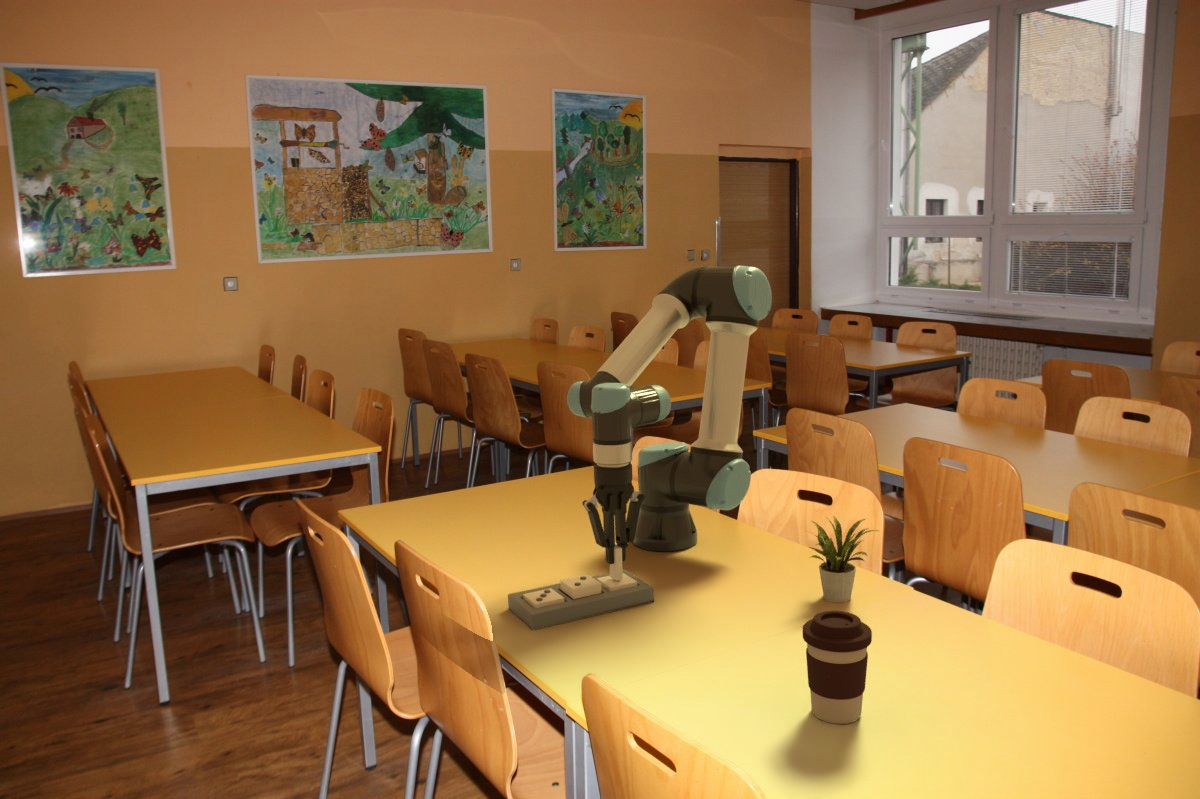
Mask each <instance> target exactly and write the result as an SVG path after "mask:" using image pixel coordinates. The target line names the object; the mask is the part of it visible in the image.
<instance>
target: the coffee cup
mask: <svg viewBox="0 0 1200 799" xmlns="http://www.w3.org/2000/svg"><path fill="white" fill-rule="evenodd" d="M872 635H873V632H872V629H871V628H870V626H869V625H868V624H867V623H865V622H863V621H862V620H861V619H860V617H858V615H856V614H855V613H852V612H848V611H844V610H832V609H831V610H824V611H821V612H817V613H816V614H815V615H814V616H813V618H812V619H809V620H807V621H806V622H804V623H803V625H802V639H803V641H804V642H805V643H806V645H807V646H806V648H805V649H806V650H805V655H806V667H807V668H806V670H807V684H808V687H809V690H810V703H811V704H810V705H811V707H810V708H811V711H812V713H813V715H814V716H815V717H816V718H817V719H819V720H821V721H822V722H823V721H824V722H826V723H829V724H836V725H837V724H838V725H840V724H842V725H843V724H850V723H853V722H855V721H858V720H859V719H860V718H861V715H862V710H863V701H864V700H863V698H864V692H865V690H866V683H867V682H866V681H867V680H866V678H867V671H868V670H867V669H868V668H867V667H868V659H869V658H868V656H869V655H868V647H869V646H870V645H871V644H872V641H873V640H872V637H873V636H872Z"/></svg>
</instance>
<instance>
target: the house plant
mask: <svg viewBox="0 0 1200 799" xmlns="http://www.w3.org/2000/svg"><path fill="white" fill-rule="evenodd" d="M825 518H826V519H827V521H828V522H829V523H830V524H831V526H832V530H833V532H834V536H835V540H836V546H835V544H834V541H833V539H832V537H829V536H828V533H827V532H826V531H825V529H824V528H823V527H822V526H820V525H819V524H818V523H817V522H815V521H813V520H811V522H812V523H813V524H814V526H815V527H816V528H817V532H818V533H817V535H816V534H815V533H813V532H811V531H809V530H806V532H808V533H810V534H813V535H814V536H815V537H816V538H817V541H818V543H816V544H815V546H817V545H818V546H820V547H821V549H819V548H816V547H813V546H812V547H811V546H808V548H809V549H811V550H814V551H815V552H817V553H818V554H820V555H822V556H823V557H825V560H826V561H825V560H824V559H823V558H822V557H820V556H819V555H811V556H810V558H814V559H819V560H821V561H822V563H820V564H819V566H818V569H819V575H820V576H819V577H820V583H821V587H822V588H821V589H822V595H823V599H824V600H826V601H829V602H832V603H846V602H849V601H850V600H851V599H852V594H853V588H854V582H855V576H856V571H857V567H856V565H855V564H853V563H850V561H864V562H865V560H864V559H863V558H862V557H859V556H856V555H864V556H866V557H867V558H869V556H868V553H867V552H866V551H859V552H858V551H857V552H856V553H854V551H855V549H856V548H857V546H859V545H860V544H861V543H862V542H864V541H865V540H864V539H862V540H858V539H860V538H861V537H862V536H863V535H865V534H867V533H871V532H879V530H877V529H870V528H868V527H867V528H863V529H861V530H860V531H858V532H856V533H854V532H855V531H856V529H857V528H858V527H859V525H861V523H863V522H864V521H866V520H867V518H862V519H860V520H857V521H856V522H855V523H854V524H852V525H851V527H850V528H849V530H848V531H847V533H846V536H845V538H844V541H843V531H842V526H841V525H842V524H841V523H840V521H839V520H838V519H837V517H836V516H834V515H833V522H834V524H833V522H832V521H831V520H830V519H829V518H828V517H827V516H825ZM869 529H870V530H869ZM853 553H854V554H853ZM852 554H853V555H852Z"/></svg>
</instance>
